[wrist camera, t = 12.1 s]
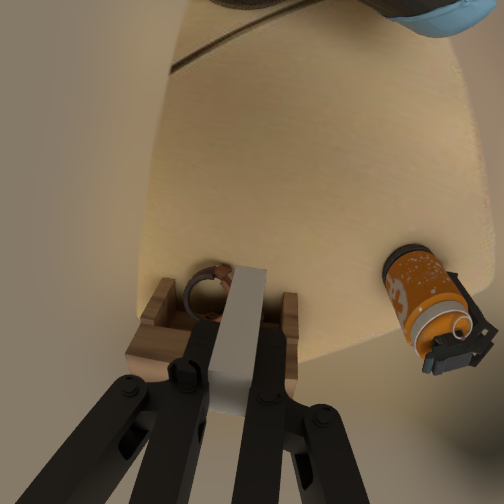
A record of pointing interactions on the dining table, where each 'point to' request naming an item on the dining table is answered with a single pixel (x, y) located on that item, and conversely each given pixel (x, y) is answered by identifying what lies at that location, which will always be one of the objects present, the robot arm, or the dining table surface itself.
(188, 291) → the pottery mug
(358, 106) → the dining table surface
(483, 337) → the canister
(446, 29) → the robot arm
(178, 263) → the dining table surface
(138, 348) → the hutch
